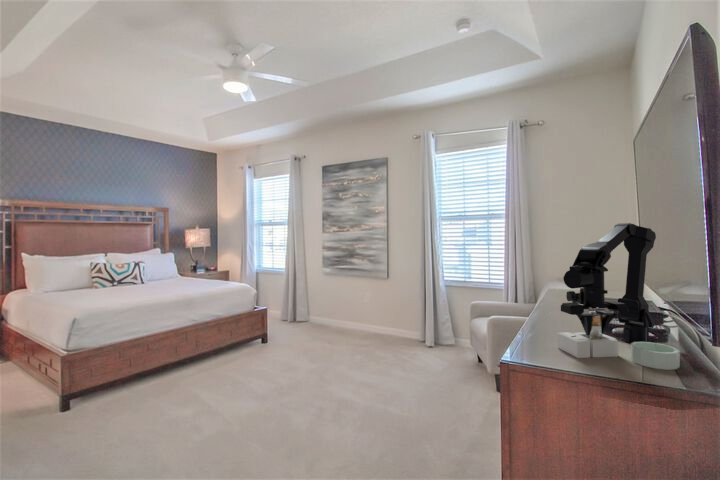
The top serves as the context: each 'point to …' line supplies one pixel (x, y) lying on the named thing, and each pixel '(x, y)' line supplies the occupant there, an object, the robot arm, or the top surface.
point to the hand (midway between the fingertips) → (594, 334)
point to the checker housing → (587, 345)
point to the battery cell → (595, 326)
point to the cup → (655, 355)
